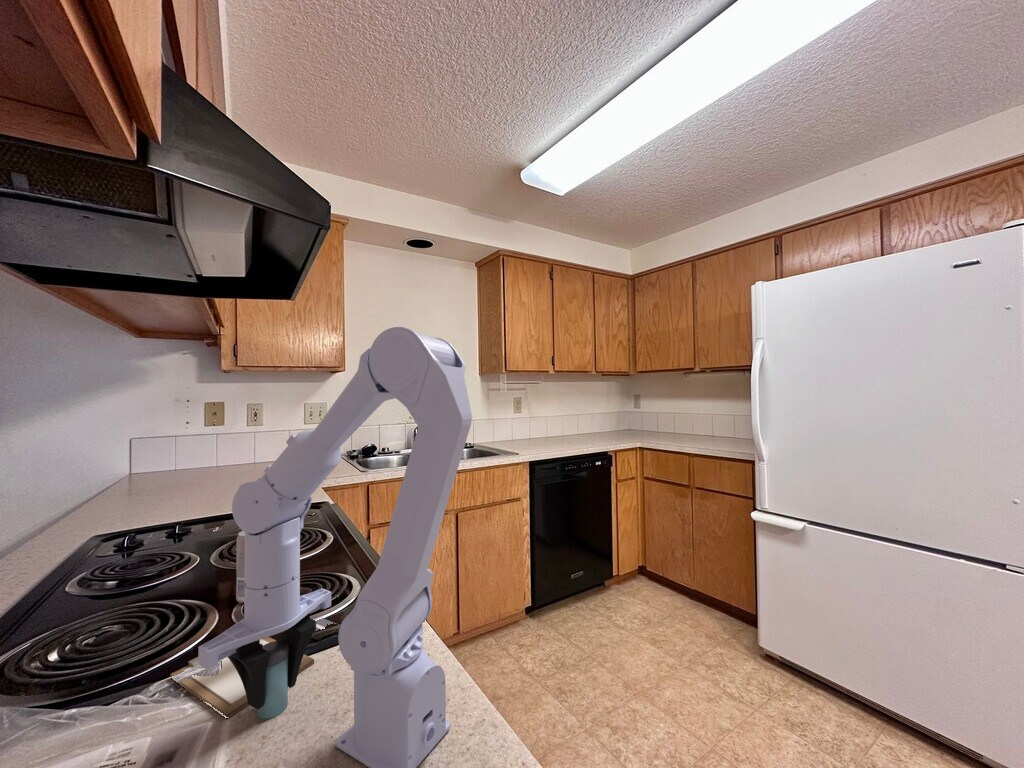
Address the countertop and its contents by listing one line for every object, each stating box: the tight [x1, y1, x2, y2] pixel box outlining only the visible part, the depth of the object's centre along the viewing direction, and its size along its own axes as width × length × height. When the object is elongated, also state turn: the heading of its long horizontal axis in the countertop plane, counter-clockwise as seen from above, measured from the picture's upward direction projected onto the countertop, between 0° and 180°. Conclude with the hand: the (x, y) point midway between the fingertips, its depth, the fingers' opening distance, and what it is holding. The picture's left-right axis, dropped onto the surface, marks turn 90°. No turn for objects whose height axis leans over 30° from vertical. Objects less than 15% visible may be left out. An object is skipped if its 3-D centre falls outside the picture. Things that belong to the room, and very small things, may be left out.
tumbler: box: [256, 639, 289, 721], centre depth 48 cm, size 3×3×7 cm
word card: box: [316, 617, 337, 631], centre depth 65 cm, size 6×4×1 cm, turn 61°
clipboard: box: [170, 636, 315, 718], centre depth 55 cm, size 14×11×1 cm
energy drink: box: [235, 530, 245, 604], centre depth 75 cm, size 5×5×12 cm
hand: (272, 693), depth 48 cm, fingers closed on tumbler, 3 cm apart
